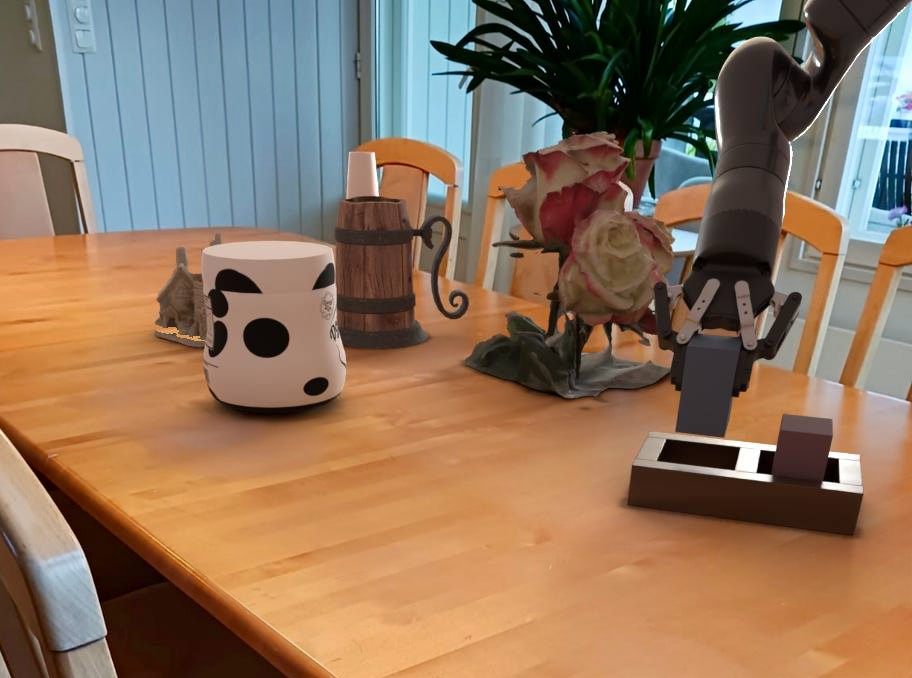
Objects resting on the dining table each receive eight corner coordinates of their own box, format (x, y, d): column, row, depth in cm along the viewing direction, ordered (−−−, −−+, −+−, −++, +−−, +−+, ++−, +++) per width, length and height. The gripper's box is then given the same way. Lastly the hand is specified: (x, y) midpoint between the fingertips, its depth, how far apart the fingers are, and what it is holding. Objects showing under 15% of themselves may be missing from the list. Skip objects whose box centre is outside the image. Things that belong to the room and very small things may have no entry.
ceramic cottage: (164, 322, 160) (154, 225, 152) (263, 328, 160) (259, 232, 152) (136, 351, 147) (124, 246, 139) (244, 357, 147) (238, 253, 139)
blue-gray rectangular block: (682, 416, 96) (694, 333, 92) (729, 421, 95) (743, 337, 91) (674, 432, 91) (687, 345, 87) (724, 438, 90) (738, 350, 86)
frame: (853, 535, 87) (863, 493, 85) (627, 504, 93) (631, 465, 91) (850, 493, 97) (860, 454, 95) (644, 467, 102) (649, 430, 100)
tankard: (327, 349, 146) (321, 205, 136) (317, 326, 161) (311, 193, 151) (478, 345, 150) (484, 204, 140) (455, 322, 165) (459, 193, 155)
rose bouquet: (587, 410, 120) (612, 138, 105) (446, 361, 141) (450, 128, 126) (722, 380, 134) (761, 135, 119) (575, 340, 154) (593, 126, 139)
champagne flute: (342, 290, 189) (337, 152, 177) (355, 284, 194) (351, 150, 182) (374, 293, 187) (372, 153, 175) (386, 287, 192) (385, 152, 181)
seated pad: (767, 492, 96) (782, 413, 92) (815, 498, 95) (832, 418, 91) (764, 512, 92) (780, 429, 88) (814, 518, 91) (833, 435, 87)
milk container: (374, 398, 124) (372, 247, 115) (285, 432, 111) (274, 266, 102) (272, 377, 132) (262, 235, 123) (177, 407, 119) (159, 251, 110)
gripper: (664, 201, 92) (628, 360, 88) (823, 209, 88) (793, 376, 84) (664, 253, 99) (630, 402, 95) (812, 263, 95) (783, 419, 91)
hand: (707, 389), depth 89 cm, fingers closed on blue-gray rectangular block, 4 cm apart
